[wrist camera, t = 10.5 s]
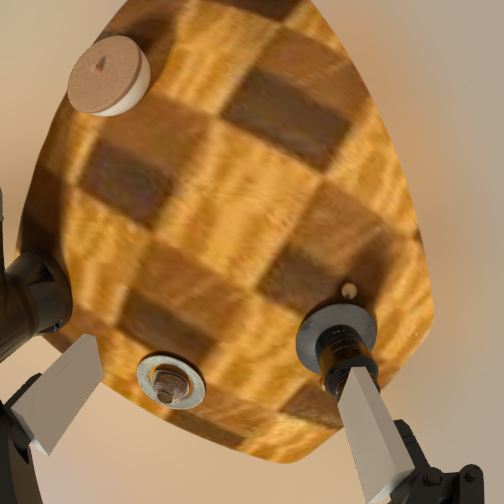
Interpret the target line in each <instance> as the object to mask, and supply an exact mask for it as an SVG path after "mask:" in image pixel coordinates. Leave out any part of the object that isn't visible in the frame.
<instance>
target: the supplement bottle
mask: <svg viewBox="0 0 504 504" xmlns="http://www.w3.org/2000/svg"><path fill="white" fill-rule="evenodd" d="M315 355H316V358H317V362H318V365H319V369H320V373H321V376H322V380H323V383H324V387H325V389H326V391H327V392H328V394H329V395H331V396H332V397H334V398H336V399H337V401H338V403H339V400H340V398H341V395H342V392H343V390H344V387H345V384H346V382H347V379H348V376H349V373H350V370H351V367H366V369H367V371H368V373H369V375H370V377H371V379H372V381H373V383H374V384H375V386H376V388H377V390H378V392H379V394H380V387H379V385H378V383H377V377H378V365H377V363H376V361H375V359H374V357H373V356H372V354H371V352H370V351H369V349H368V347H367V346H366V344H365V343H364V341H363V339H362V338H361V336H360V335H359V333H358V332H357V330H356V329H354V328H353V327H351V326H349V325H344V324H340V325H334V326H331V327H329V328H327V329H326V330H324V331H323V332H322V333H321V334H320V335H319V337H318V338H317V340H316V343H315Z"/></svg>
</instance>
